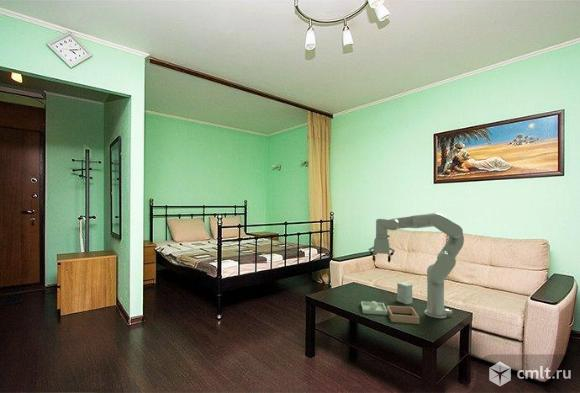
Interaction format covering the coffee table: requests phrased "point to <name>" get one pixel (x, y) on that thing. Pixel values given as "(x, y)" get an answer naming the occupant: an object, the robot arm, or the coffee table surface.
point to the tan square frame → (403, 318)
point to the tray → (378, 311)
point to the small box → (404, 293)
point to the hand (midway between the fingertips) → (381, 261)
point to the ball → (373, 305)
